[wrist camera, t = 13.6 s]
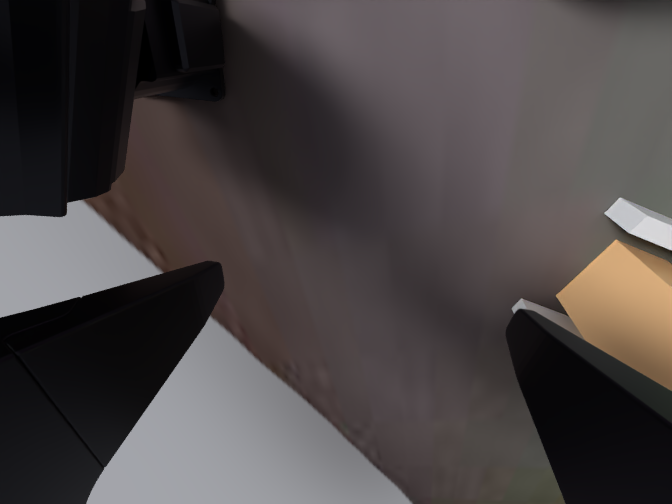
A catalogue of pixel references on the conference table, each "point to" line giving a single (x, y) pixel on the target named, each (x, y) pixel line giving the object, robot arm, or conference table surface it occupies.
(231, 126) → the conference table surface
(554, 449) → the robot arm
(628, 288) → the tan block
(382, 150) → the conference table surface
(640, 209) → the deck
